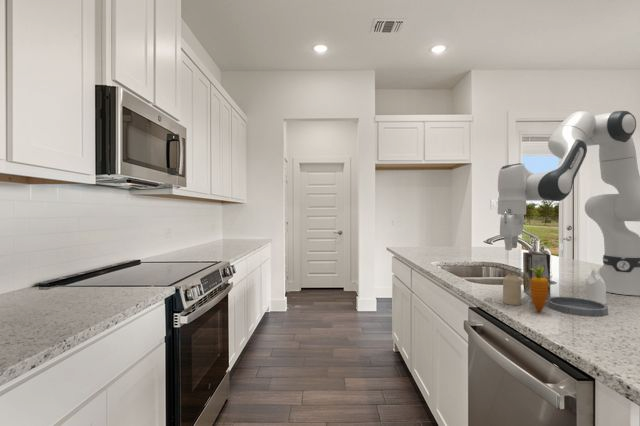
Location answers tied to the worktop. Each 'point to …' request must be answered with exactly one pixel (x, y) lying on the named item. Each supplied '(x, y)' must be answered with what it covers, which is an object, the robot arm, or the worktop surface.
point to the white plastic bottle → (596, 287)
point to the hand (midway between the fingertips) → (511, 248)
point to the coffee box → (532, 262)
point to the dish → (577, 306)
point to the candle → (512, 290)
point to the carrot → (539, 289)
